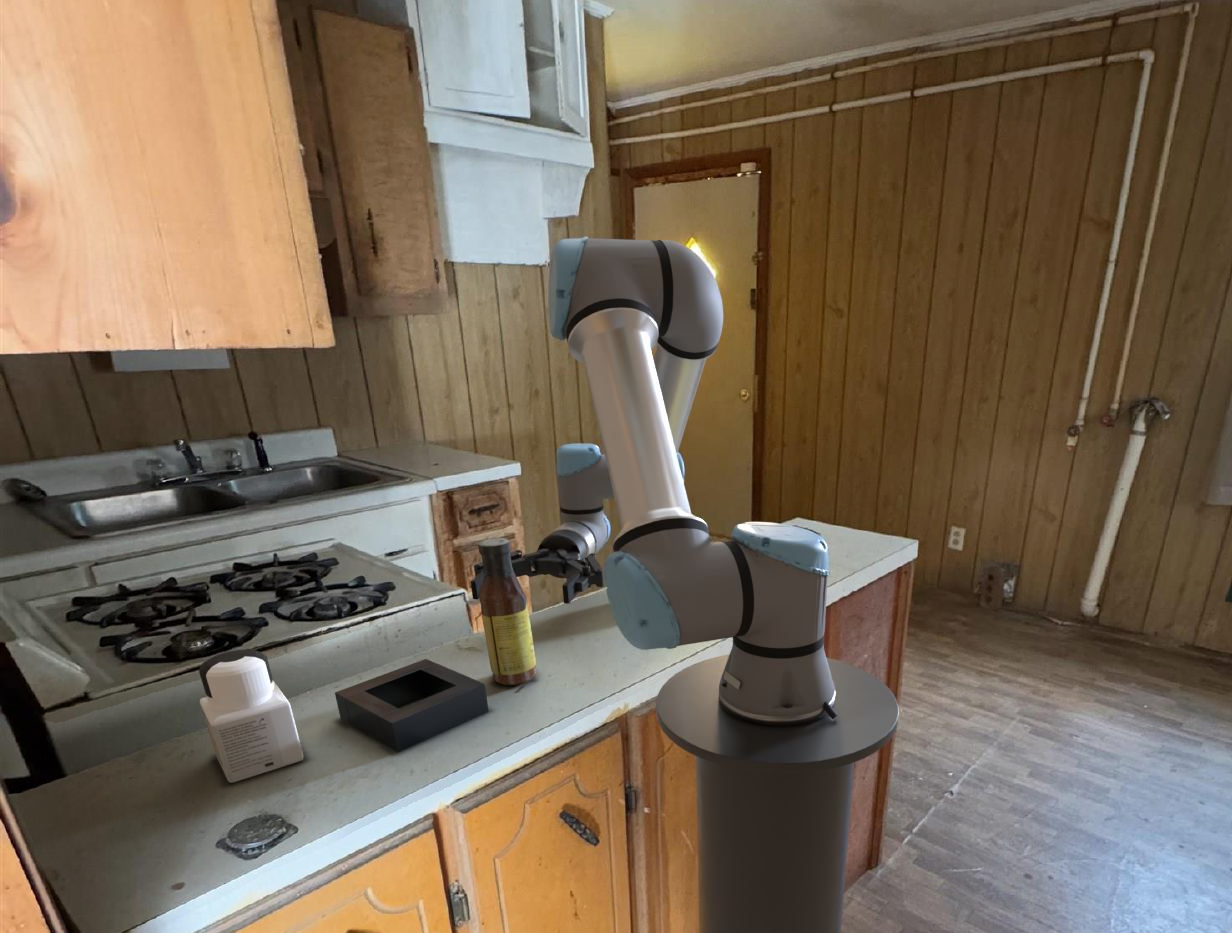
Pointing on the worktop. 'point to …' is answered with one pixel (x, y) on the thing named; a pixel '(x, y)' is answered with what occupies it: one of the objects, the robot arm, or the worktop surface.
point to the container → (247, 715)
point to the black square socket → (410, 725)
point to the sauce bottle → (505, 616)
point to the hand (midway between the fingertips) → (519, 592)
